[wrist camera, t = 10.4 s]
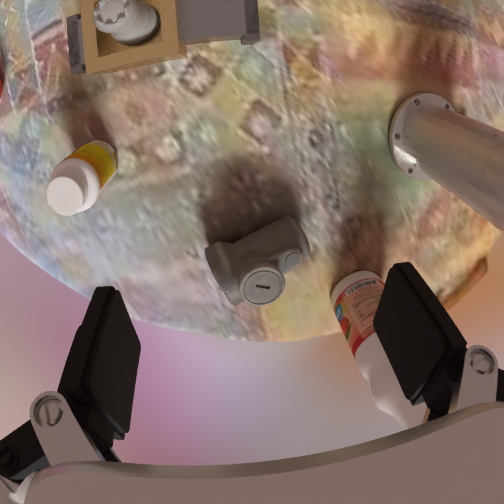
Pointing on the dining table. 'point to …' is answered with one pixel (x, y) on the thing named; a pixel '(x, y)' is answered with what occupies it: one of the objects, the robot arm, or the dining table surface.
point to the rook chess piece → (127, 20)
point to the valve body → (160, 33)
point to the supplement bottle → (82, 177)
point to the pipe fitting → (258, 262)
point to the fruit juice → (372, 345)
